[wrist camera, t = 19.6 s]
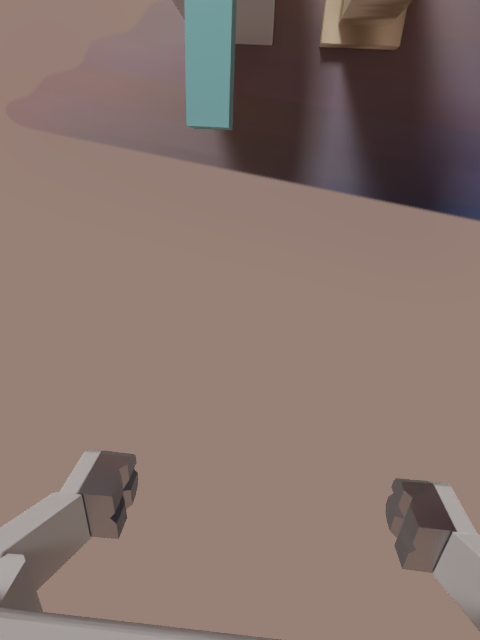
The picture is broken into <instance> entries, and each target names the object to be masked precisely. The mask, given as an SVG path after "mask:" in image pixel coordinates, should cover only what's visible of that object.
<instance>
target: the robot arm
mask: <svg viewBox="0 0 480 640" xmlns="http://www.w3.org/2000/svg"><path fill="white" fill-rule="evenodd" d="M135 465H136V456H135V455H134V454H128V453H118V452H111V451H101V450H92V449H88V450H86V451H85V452H84V453H83V455H82V456H81V458H80V460H79V461H78V463H77V464H76V466H75V467H74V469H73V471H72V472H71V474H70V476H69V477H68V479H67V480H66V482H65V484H64V485H63V487H62V488H61V490H60V491H59V492H53V493H52V494H50V495H49V496H47V497H46V498H45V499H43V500H41V501H40V502H38V503H37V504H35V505H34V506H32V507H31V508H29V509H28V510H26V511H25V512H23V513H22V514H20V515H19V516H17V517H16V518H14V519H13V520H11V521H10V522H8V523H6V524H5V525H4V526H2V527H0V640H279V639H270V638H262V637H253V636H244V635H235V634H228V633H219V632H210V631H202V630H193V629H184V628H175V627H167V626H159V625H150V624H141V623H133V622H124V621H116V620H107V619H98V618H90V617H81V616H72V615H64V614H55V613H46V612H43V610H42V607H41V604H40V601H39V598H38V595H37V592H36V591H37V590H38V589H39V587H41V586H42V585H43V584H44V583H45V582H46V581H47V580H48V579H49V578H50V577H51V576H52V575H53V574H54V573H55V572H56V571H57V570H58V569H59V568H60V567H61V566H62V565H63V564H64V563H66V562H67V561H68V559H70V558H71V557H72V556H73V555H74V554H75V553H76V552H77V551H78V550H79V549H80V548H81V547H82V546H83V545H84V544H85V543H86V542H87V541H88V540H90V537H102V538H116V539H117V538H118V539H119V537H120V534H121V532H122V529H123V526H124V524H125V522H126V519H127V514H126V509H127V508H128V507H129V506H131V505H132V503H133V501H134V498H135V495H136V491H137V486H138V473H137V472H136V471H135V470H134V467H135ZM392 490H393V492H394V493H393V494H392V495H390V496H389V497H388V500H387V503H386V517H387V523H388V526H389V529H390V531H391V532H392V533H393V534H394V535H395V536H396V537H397V540H396V543H395V548H396V551H397V554H398V557H399V560H400V563H401V566H402V568H403V569H409V570H416V571H424V572H431V573H433V576H434V577H435V578H436V579H437V580H438V581H439V583H440V584H441V585H442V586H443V588H444V589H445V590H446V591H447V592H448V594H449V595H450V596H451V597H452V598H453V600H454V601H455V602H456V603H457V604H458V605H459V607H460V608H461V609H462V610H463V612H464V613H465V614H466V615H467V616H468V618H469V619H470V620H471V621H472V622H473V624H474V625H475V626H476V627H477V628H478V630H479V631H480V534H477V532H476V531H475V529H474V528H473V525H472V523H471V522H470V520H469V518H468V516H467V514H466V513H465V511H464V509H463V508H462V506H461V504H460V502H459V500H458V498H457V497H456V495H455V493H454V491H453V490H452V488H451V486H450V485H449V484H448V483H442V482H431V481H430V482H429V481H421V480H409V479H397V478H396V479H395V480H394V481H393V484H392Z"/></svg>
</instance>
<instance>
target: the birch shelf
mask: <svg viewBox="0 0 480 640" xmlns="http://www.w3.org/2000/svg"><path fill="white" fill-rule="evenodd" d="M412 1H413V0H324V8H323V17H322V26H321V34H320V43H319V47H330V48H356V49H383V50H396V49H397V48H398V47H399V46H400V42H401V37H402V32H403V27H404V22H405V16H406V11H407V6H408V5H409V4H410V3H411V2H412Z"/></svg>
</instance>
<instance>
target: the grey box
mask: <svg viewBox="0 0 480 640" xmlns="http://www.w3.org/2000/svg"><path fill="white" fill-rule="evenodd" d="M172 1H173V2H174V4H175V5H176V7H177V9H178V10H179V12H180V13H181V15H182V17H183V18H184V20H185V5H184V0H172ZM274 7H275V0H237V10H236V41H235V44H250V45H272V42H273V28H274Z"/></svg>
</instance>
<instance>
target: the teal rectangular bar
mask: <svg viewBox="0 0 480 640" xmlns="http://www.w3.org/2000/svg"><path fill="white" fill-rule="evenodd" d="M184 5H185V65H186V124H187V126H189V127H191V128H194V129H213V130H233V103H234V72H235V41H236V10H237V0H184Z"/></svg>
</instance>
